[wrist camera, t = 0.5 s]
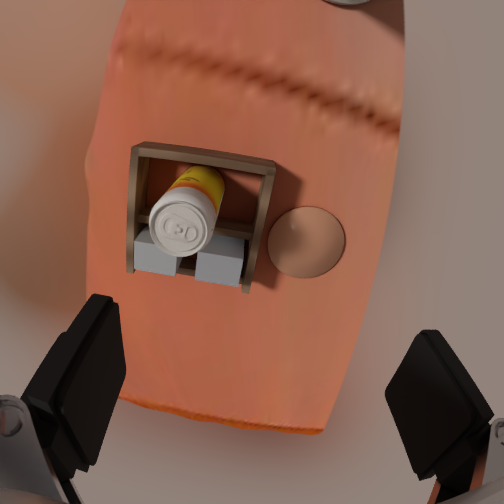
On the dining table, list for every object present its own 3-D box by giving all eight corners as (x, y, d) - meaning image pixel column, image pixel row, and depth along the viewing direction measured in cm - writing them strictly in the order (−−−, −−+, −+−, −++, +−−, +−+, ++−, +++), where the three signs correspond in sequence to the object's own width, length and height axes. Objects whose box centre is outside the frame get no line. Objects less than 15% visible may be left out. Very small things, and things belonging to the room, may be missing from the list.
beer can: (187, 157, 38) (154, 187, 25) (231, 173, 40) (222, 211, 26) (174, 199, 41) (139, 247, 28) (215, 213, 42) (200, 269, 29)
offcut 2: (205, 228, 43) (197, 251, 37) (244, 235, 44) (243, 259, 37) (201, 254, 45) (194, 279, 39) (239, 260, 45) (238, 286, 39)
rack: (144, 141, 37) (131, 146, 33) (273, 160, 39) (276, 168, 34) (137, 255, 45) (126, 272, 40) (249, 274, 46) (249, 293, 42)
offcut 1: (150, 219, 42) (134, 240, 36) (187, 226, 43) (177, 248, 37) (148, 245, 44) (134, 268, 38) (185, 251, 45) (175, 276, 38)
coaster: (276, 199, 41) (277, 200, 41) (352, 214, 42) (353, 216, 42) (260, 270, 46) (260, 272, 45) (330, 281, 47) (331, 283, 46)
